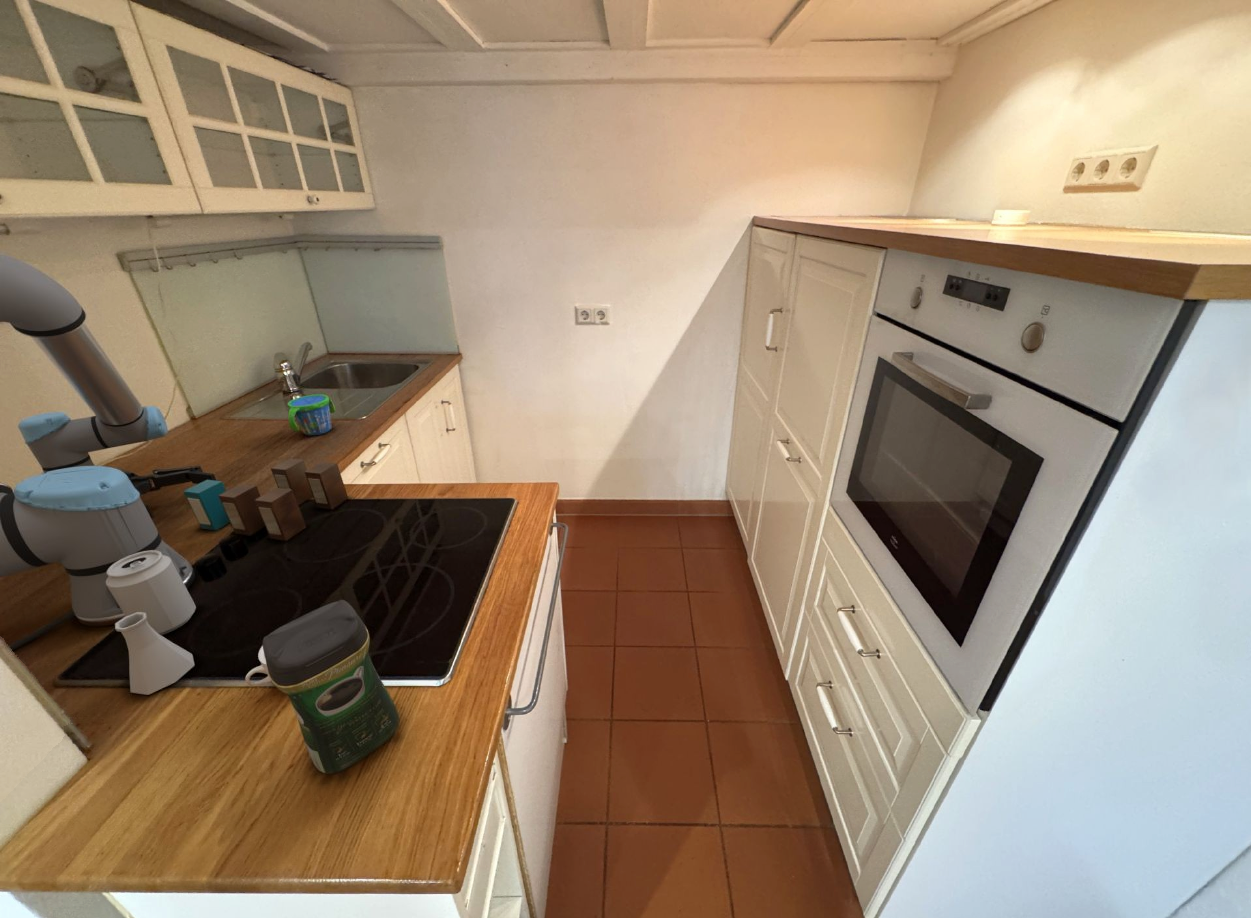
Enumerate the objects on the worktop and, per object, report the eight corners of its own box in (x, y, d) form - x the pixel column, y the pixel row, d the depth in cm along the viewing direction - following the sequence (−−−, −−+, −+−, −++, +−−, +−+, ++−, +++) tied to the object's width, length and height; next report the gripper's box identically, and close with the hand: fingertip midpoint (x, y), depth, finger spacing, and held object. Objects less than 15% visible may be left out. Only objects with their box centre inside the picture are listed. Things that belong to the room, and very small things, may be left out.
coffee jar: (383, 693, 66) (345, 583, 58) (409, 731, 61) (370, 617, 53) (303, 743, 60) (247, 628, 52) (323, 790, 55) (265, 671, 47)
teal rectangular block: (215, 531, 103) (197, 493, 99) (200, 529, 104) (181, 491, 100) (238, 517, 108) (222, 481, 104) (223, 515, 109) (207, 479, 105)
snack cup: (309, 443, 143) (298, 410, 138) (282, 440, 146) (270, 407, 141) (352, 423, 156) (342, 392, 152) (325, 421, 159) (316, 390, 155)
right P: (331, 510, 109) (318, 473, 105) (316, 508, 110) (303, 472, 106) (348, 498, 114) (337, 463, 110) (333, 496, 115) (322, 461, 111)
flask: (119, 683, 69) (82, 629, 65) (180, 647, 75) (150, 595, 70) (144, 704, 66) (107, 649, 62) (205, 664, 72) (176, 611, 67)
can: (189, 599, 84) (157, 541, 79) (205, 617, 80) (173, 556, 75) (131, 626, 79) (93, 566, 74) (146, 647, 75) (107, 584, 70)
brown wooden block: (285, 541, 99) (269, 502, 95) (269, 539, 100) (253, 500, 96) (306, 527, 103) (292, 489, 99) (290, 525, 104) (276, 487, 100)
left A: (249, 536, 101) (232, 498, 97) (234, 534, 102) (216, 496, 98) (271, 522, 106) (256, 485, 102) (256, 520, 106) (240, 483, 102)
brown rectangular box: (297, 505, 111) (284, 470, 107) (283, 504, 112) (269, 468, 108) (316, 494, 116) (303, 459, 112) (301, 492, 117) (289, 458, 113)
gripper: (174, 474, 122) (243, 482, 117) (48, 531, 100) (125, 544, 96) (161, 446, 119) (231, 453, 114) (27, 499, 97) (106, 510, 92)
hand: (183, 495), depth 105 cm, fingers open, 13 cm apart
